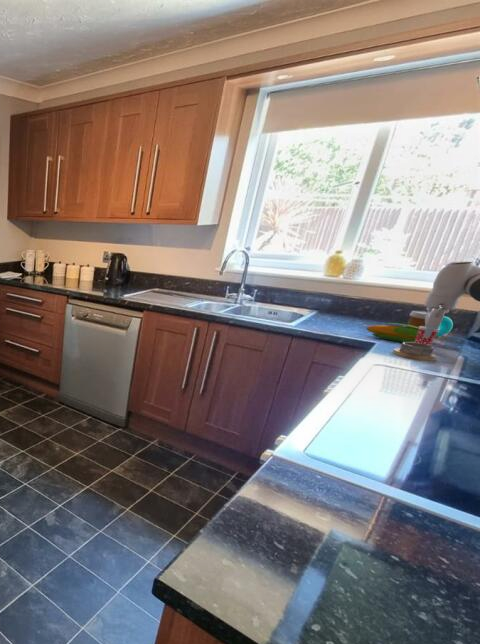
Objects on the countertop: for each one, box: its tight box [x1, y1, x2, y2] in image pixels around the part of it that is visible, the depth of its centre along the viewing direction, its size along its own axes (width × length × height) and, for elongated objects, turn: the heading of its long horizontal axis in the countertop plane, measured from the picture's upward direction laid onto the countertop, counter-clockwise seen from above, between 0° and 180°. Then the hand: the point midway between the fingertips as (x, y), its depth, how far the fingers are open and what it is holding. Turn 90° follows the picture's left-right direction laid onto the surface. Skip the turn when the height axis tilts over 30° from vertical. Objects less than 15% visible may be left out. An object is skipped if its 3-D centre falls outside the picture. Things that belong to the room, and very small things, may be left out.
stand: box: [392, 342, 437, 362], centre depth 166 cm, size 12×12×4 cm
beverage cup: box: [414, 326, 440, 346], centre depth 175 cm, size 6×6×14 cm
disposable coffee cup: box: [406, 310, 427, 329], centre depth 191 cm, size 10×10×12 cm
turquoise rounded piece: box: [435, 315, 454, 338], centre depth 199 cm, size 10×10×10 cm
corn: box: [365, 322, 419, 343], centre depth 188 cm, size 7×8×20 cm
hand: (425, 336), depth 175 cm, fingers closed on beverage cup, 6 cm apart
